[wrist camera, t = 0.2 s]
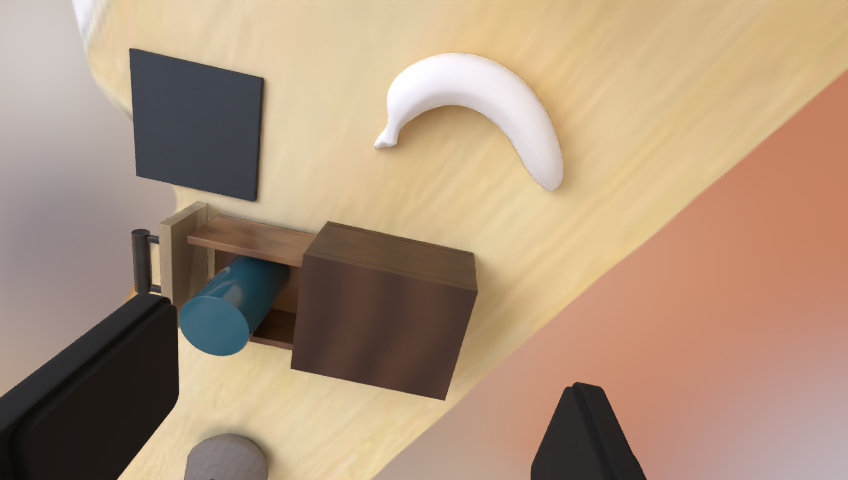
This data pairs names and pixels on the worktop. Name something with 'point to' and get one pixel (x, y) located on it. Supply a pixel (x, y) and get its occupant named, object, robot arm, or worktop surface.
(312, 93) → the worktop surface
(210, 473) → the turkish coffee pot
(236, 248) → the drawer
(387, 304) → the cabinet
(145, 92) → the mat
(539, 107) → the banana
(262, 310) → the teal blue cylinder
